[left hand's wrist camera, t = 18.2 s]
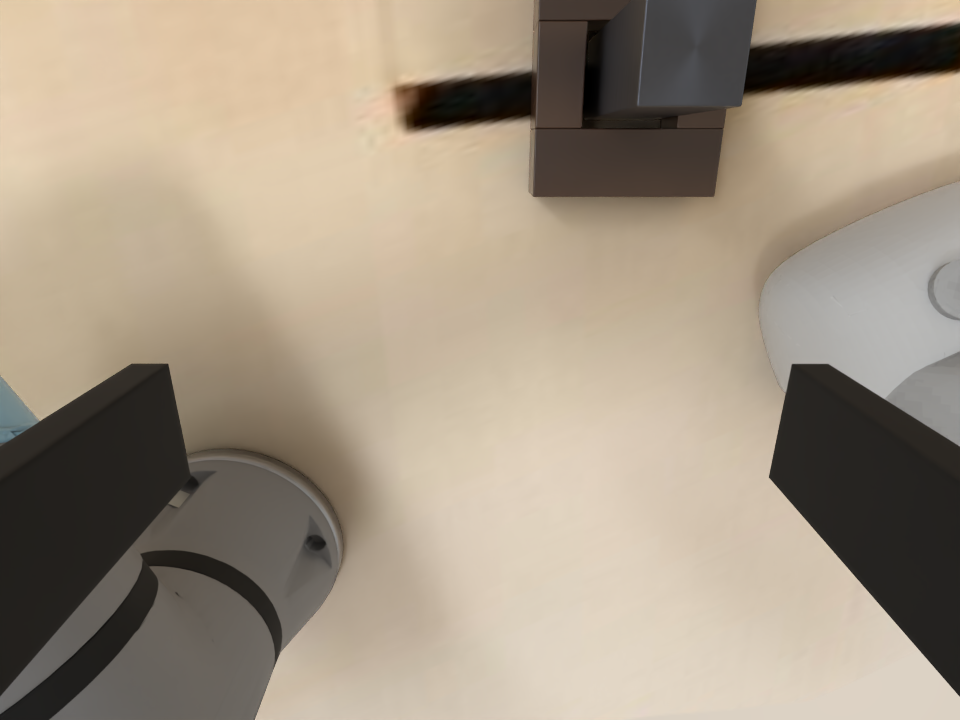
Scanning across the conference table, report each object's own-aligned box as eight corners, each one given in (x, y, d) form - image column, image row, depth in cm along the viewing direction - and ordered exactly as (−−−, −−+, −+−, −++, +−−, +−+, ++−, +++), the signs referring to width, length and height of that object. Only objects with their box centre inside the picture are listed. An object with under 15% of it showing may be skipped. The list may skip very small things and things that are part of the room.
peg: (653, 119, 33) (742, 106, 22) (583, 119, 33) (636, 106, 22) (660, 41, 32) (760, -17, 20) (588, 41, 32) (647, -17, 20)
